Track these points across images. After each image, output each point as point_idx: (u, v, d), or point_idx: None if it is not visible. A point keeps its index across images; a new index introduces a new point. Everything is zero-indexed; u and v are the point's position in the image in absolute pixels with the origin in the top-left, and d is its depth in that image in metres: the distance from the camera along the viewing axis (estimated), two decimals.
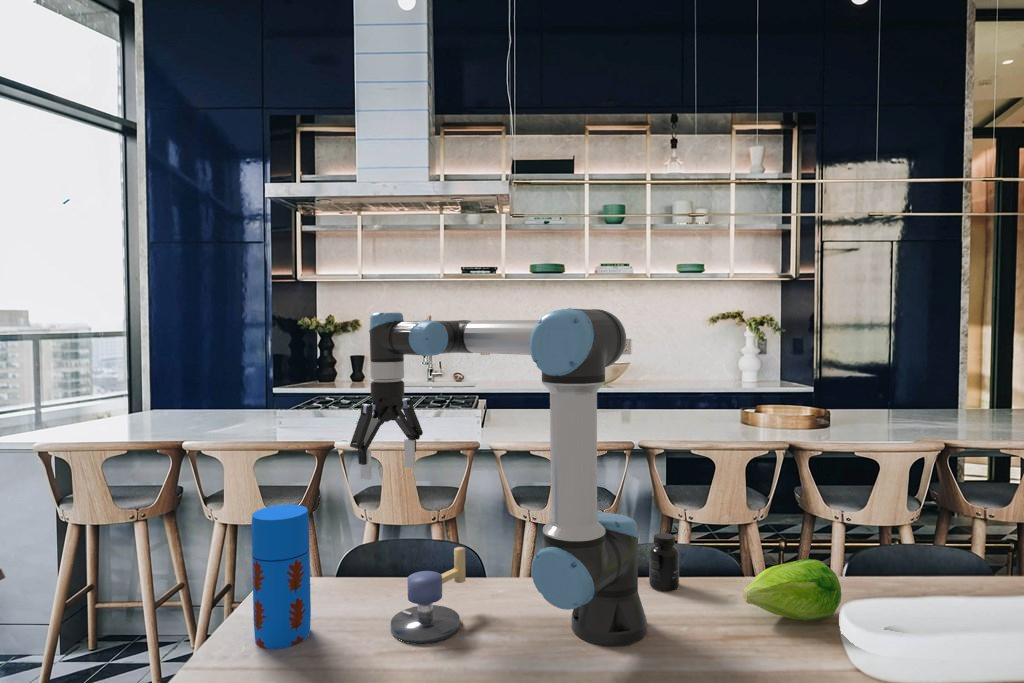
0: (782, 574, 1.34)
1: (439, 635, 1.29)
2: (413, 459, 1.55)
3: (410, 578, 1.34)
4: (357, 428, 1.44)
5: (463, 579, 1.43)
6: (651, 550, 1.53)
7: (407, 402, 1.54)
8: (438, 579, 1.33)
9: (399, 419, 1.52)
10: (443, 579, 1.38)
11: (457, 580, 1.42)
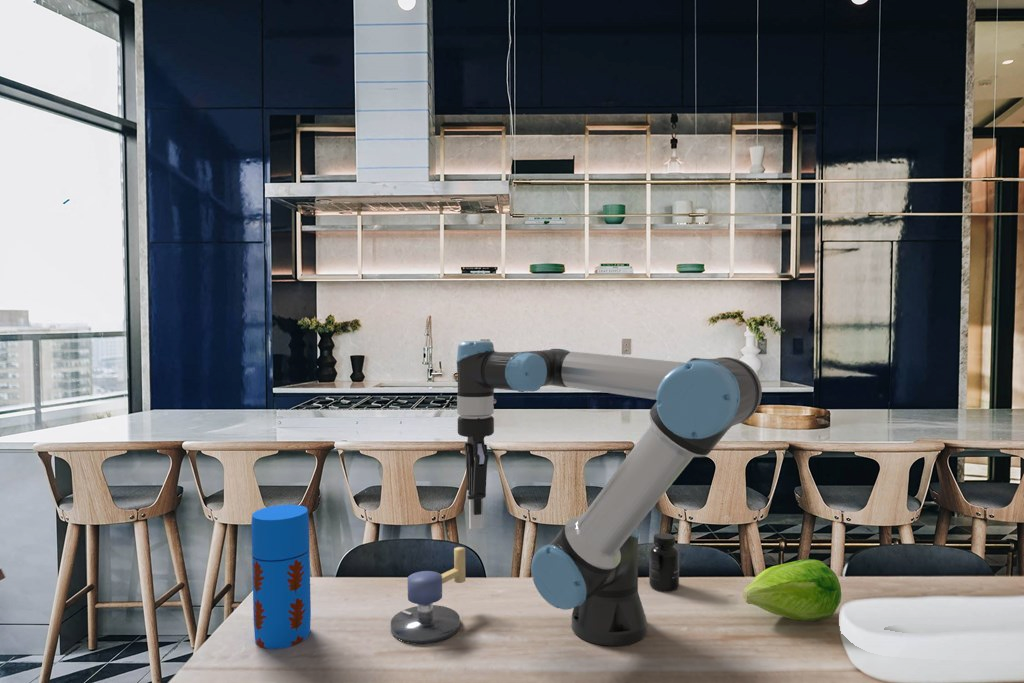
0: (782, 574, 1.34)
1: (439, 635, 1.29)
2: (470, 520, 1.36)
3: (410, 578, 1.34)
4: None
5: (463, 579, 1.43)
6: (651, 550, 1.53)
7: None
8: (438, 579, 1.33)
9: None
10: (443, 579, 1.38)
11: (457, 580, 1.42)
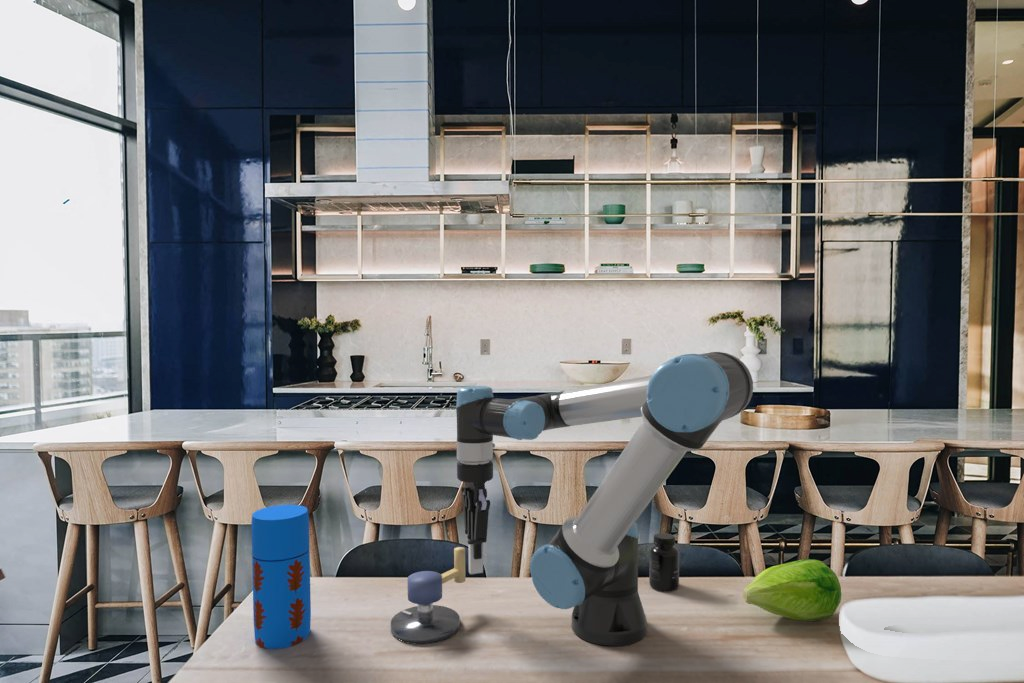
0: (782, 574, 1.34)
1: (439, 635, 1.29)
2: (470, 564, 1.37)
3: (410, 578, 1.34)
4: None
5: (463, 579, 1.43)
6: (651, 550, 1.53)
7: None
8: (438, 579, 1.33)
9: None
10: (443, 579, 1.38)
11: (457, 580, 1.42)
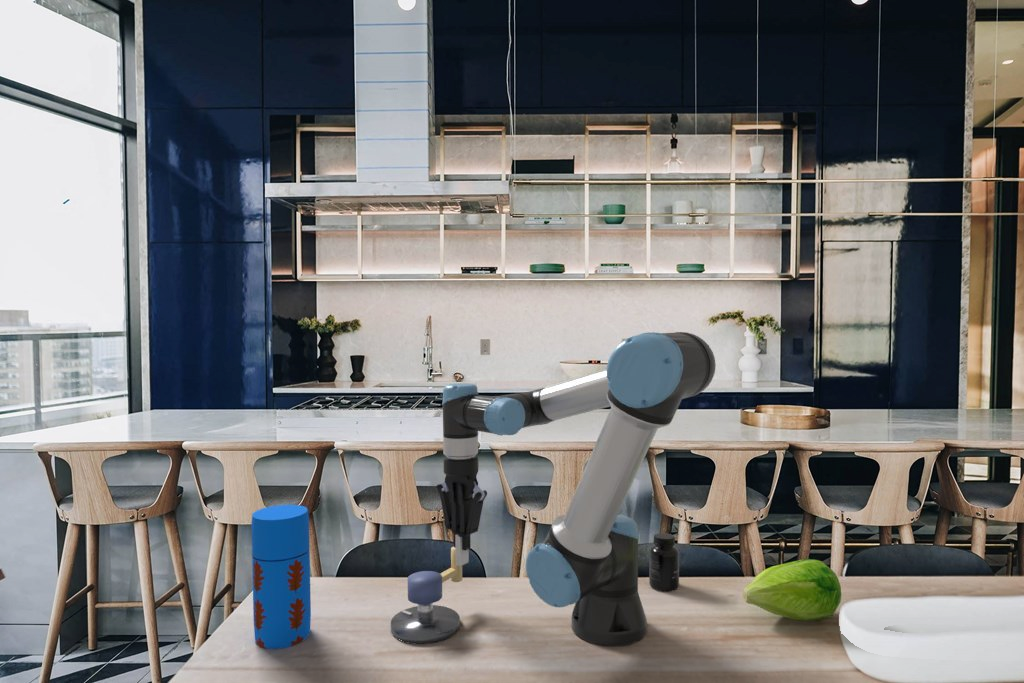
0: (782, 574, 1.34)
1: (439, 635, 1.29)
2: (458, 556, 1.41)
3: (410, 579, 1.34)
4: None
5: (460, 578, 1.43)
6: (651, 550, 1.53)
7: None
8: (438, 579, 1.34)
9: None
10: (442, 579, 1.38)
11: (454, 579, 1.43)
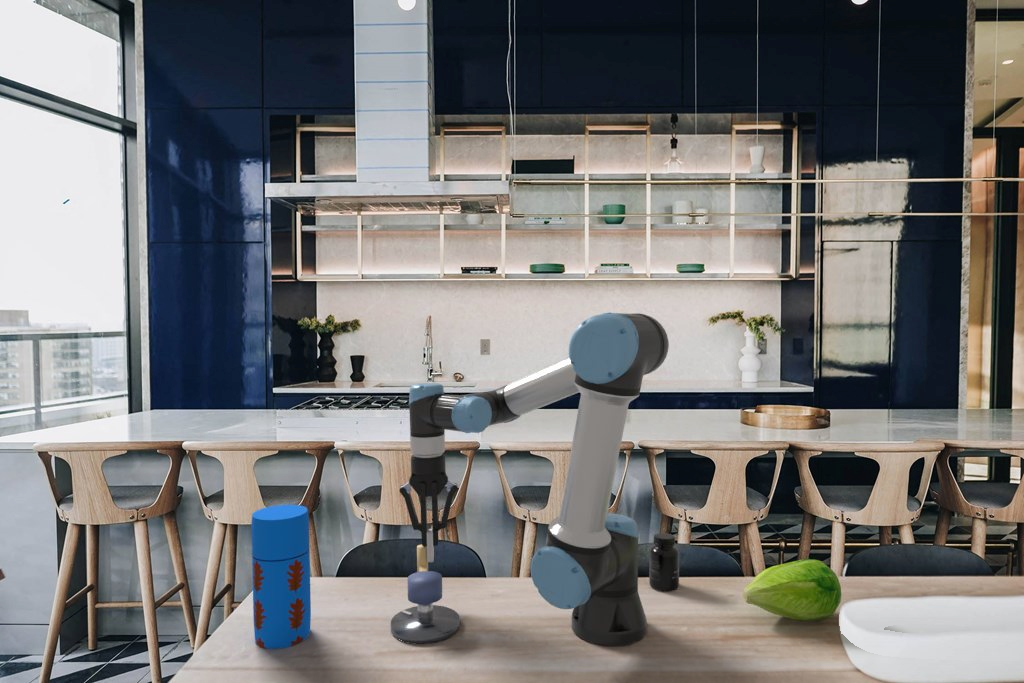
0: (782, 574, 1.34)
1: (439, 635, 1.29)
2: (431, 553, 1.44)
3: (415, 582, 1.32)
4: None
5: None
6: (651, 550, 1.53)
7: (451, 487, 1.44)
8: (439, 574, 1.36)
9: None
10: None
11: None
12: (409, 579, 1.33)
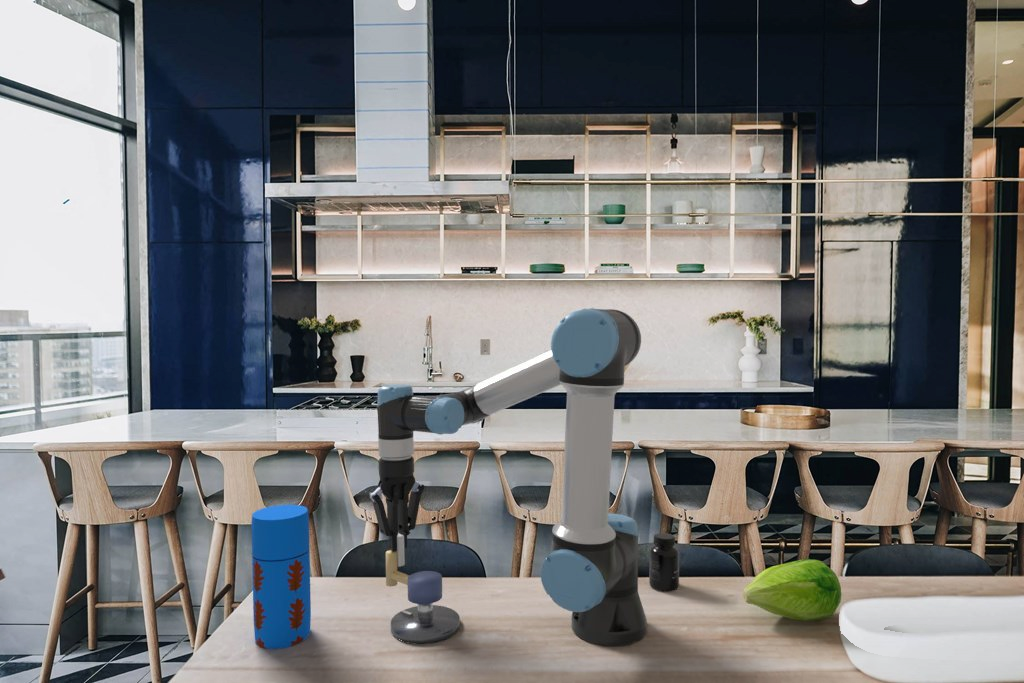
0: (782, 574, 1.34)
1: (439, 635, 1.29)
2: (402, 556, 1.42)
3: (424, 583, 1.31)
4: (377, 517, 1.40)
5: None
6: (651, 550, 1.53)
7: (418, 486, 1.45)
8: (432, 572, 1.37)
9: (401, 501, 1.42)
10: None
11: (396, 582, 1.41)
12: (414, 582, 1.32)
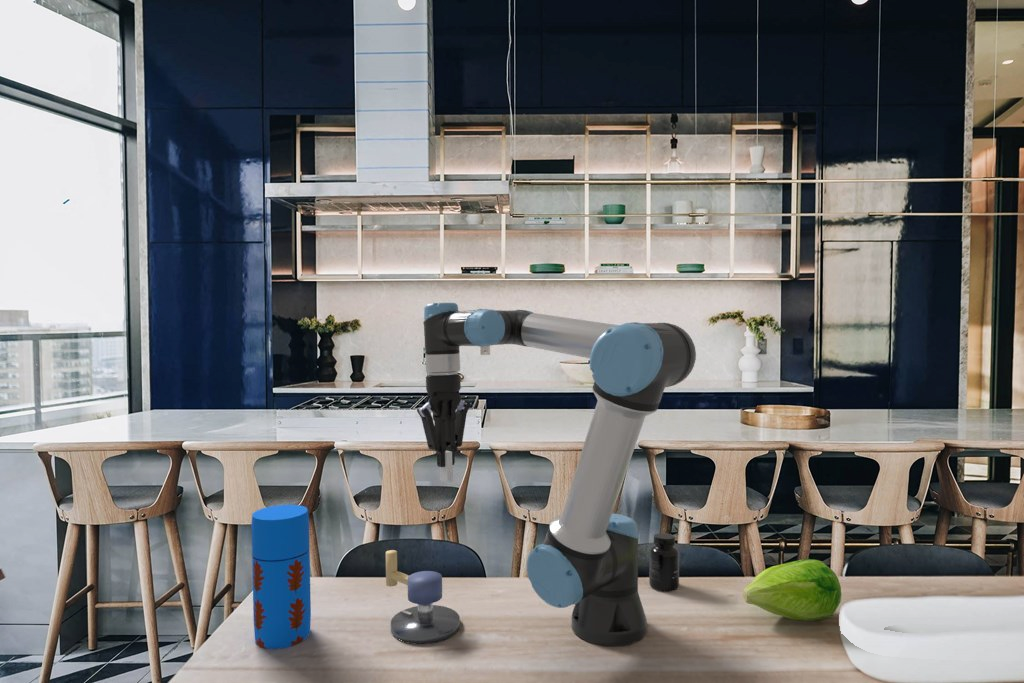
0: (782, 574, 1.34)
1: (439, 635, 1.29)
2: (450, 472, 1.43)
3: (424, 583, 1.31)
4: (426, 432, 1.42)
5: None
6: (651, 550, 1.53)
7: (464, 404, 1.47)
8: (432, 572, 1.37)
9: (448, 418, 1.44)
10: None
11: (396, 582, 1.41)
12: (414, 582, 1.32)
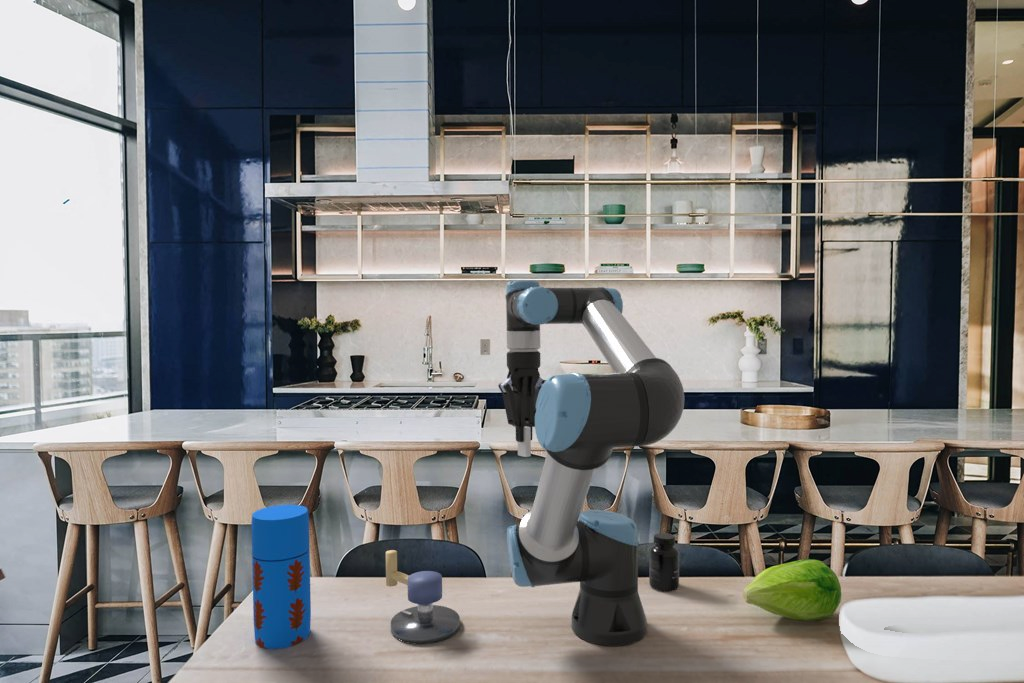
0: (782, 574, 1.34)
1: (439, 635, 1.29)
2: (529, 447, 1.46)
3: (424, 583, 1.31)
4: (506, 407, 1.44)
5: None
6: (651, 550, 1.53)
7: (542, 381, 1.49)
8: (432, 572, 1.37)
9: (527, 394, 1.47)
10: None
11: (396, 582, 1.41)
12: (414, 582, 1.32)
